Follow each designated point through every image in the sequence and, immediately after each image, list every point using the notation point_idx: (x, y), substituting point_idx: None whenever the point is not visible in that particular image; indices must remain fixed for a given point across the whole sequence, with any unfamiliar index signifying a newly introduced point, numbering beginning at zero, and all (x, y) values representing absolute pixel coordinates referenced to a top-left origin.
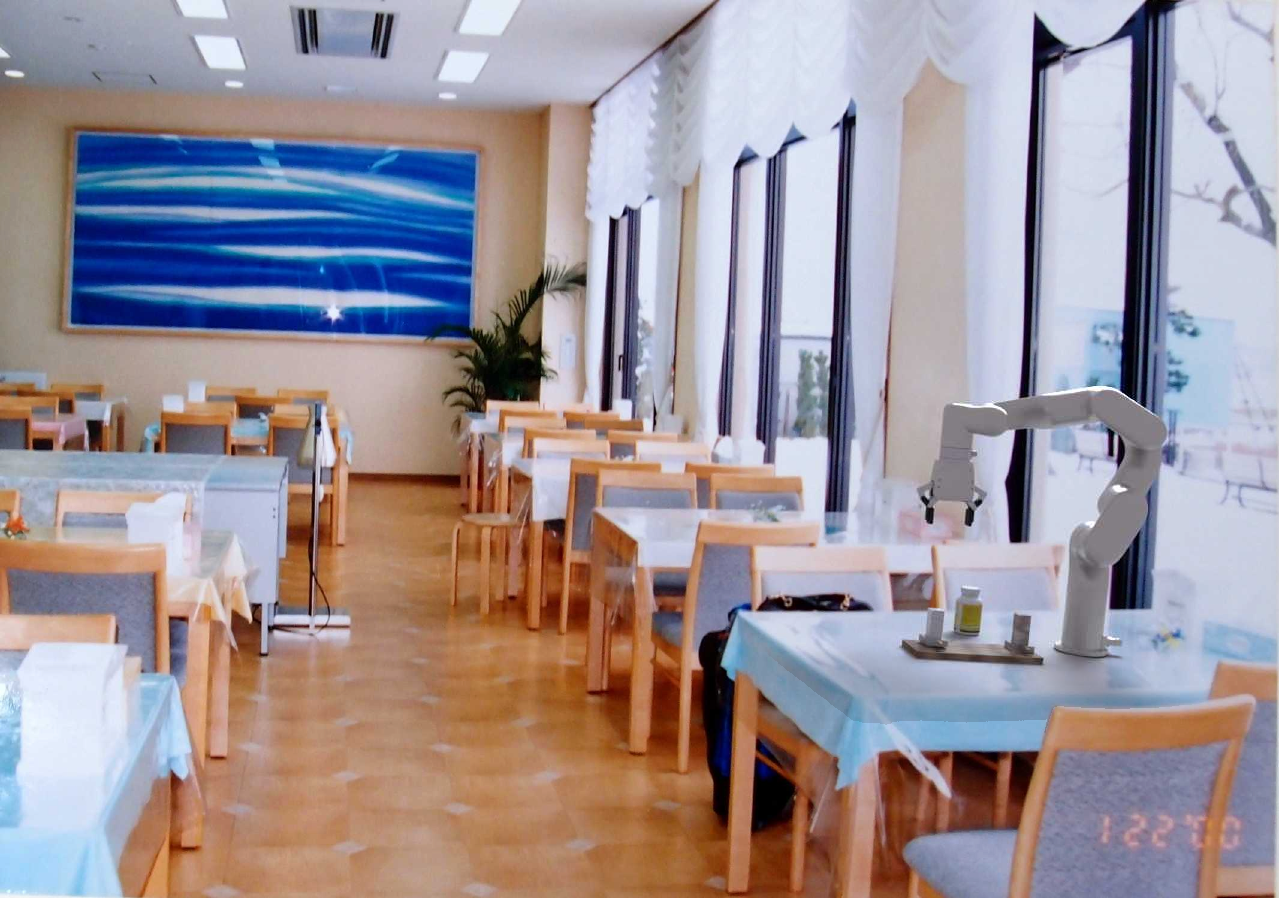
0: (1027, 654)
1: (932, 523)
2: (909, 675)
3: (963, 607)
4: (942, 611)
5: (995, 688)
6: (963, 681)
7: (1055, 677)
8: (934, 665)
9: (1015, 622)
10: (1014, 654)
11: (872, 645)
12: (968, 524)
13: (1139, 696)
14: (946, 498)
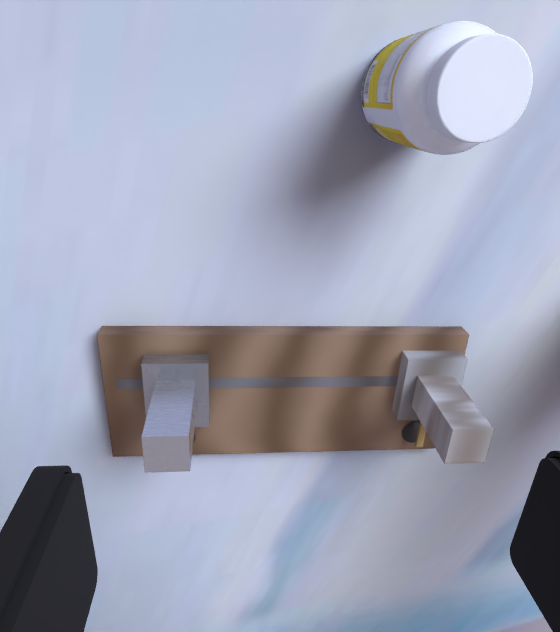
0: (416, 427)
1: (90, 579)
2: None
3: (399, 134)
4: (183, 469)
5: (225, 611)
6: (175, 586)
7: (398, 526)
8: (146, 496)
9: (437, 426)
10: (380, 431)
11: (6, 341)
12: (517, 565)
13: (487, 600)
14: None
